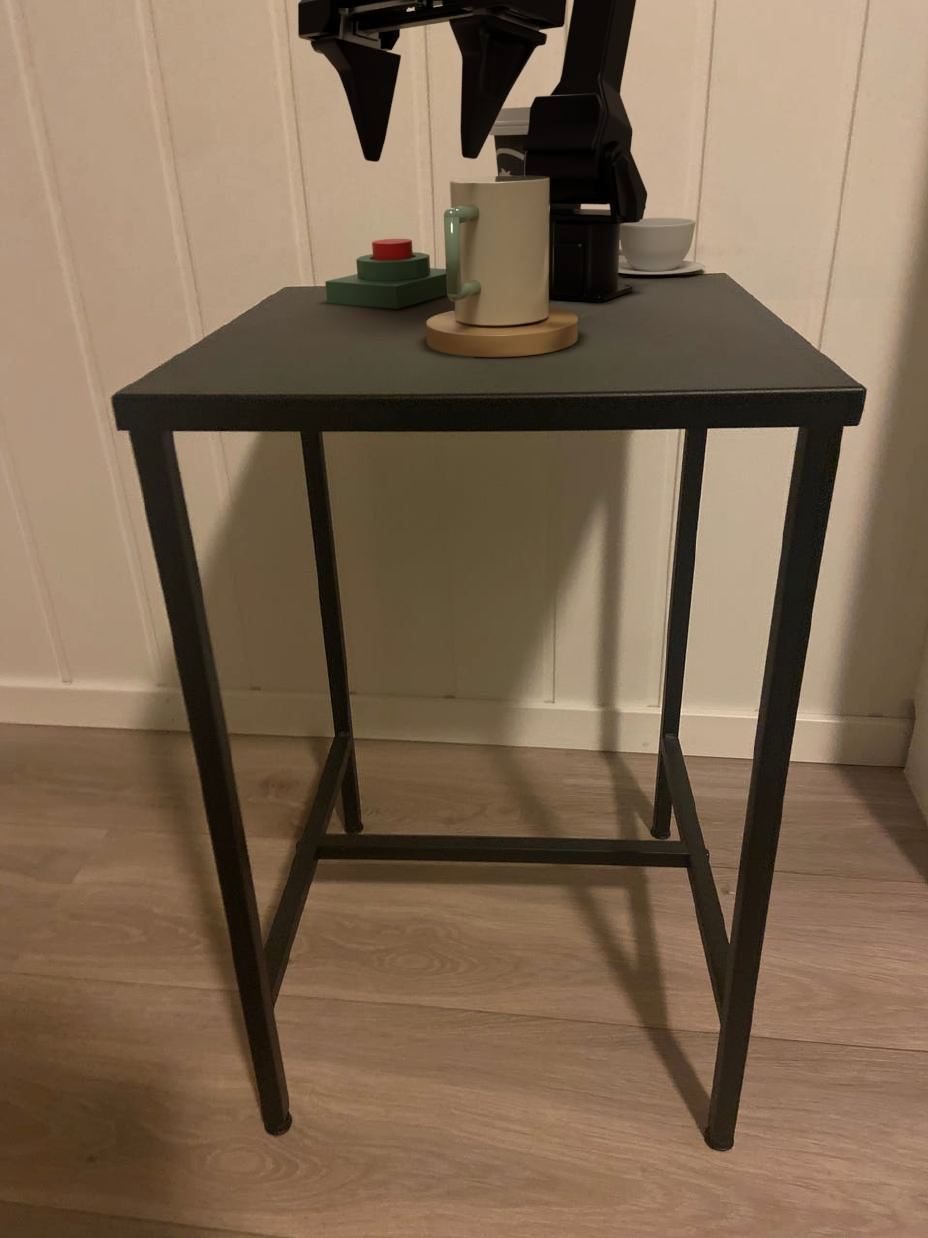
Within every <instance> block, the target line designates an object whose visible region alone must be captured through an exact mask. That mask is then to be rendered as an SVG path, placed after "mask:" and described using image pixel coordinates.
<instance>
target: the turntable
mask: <svg viewBox="0 0 928 1238" xmlns="http://www.w3.org/2000/svg"><path fill="white" fill-rule="evenodd" d="M425 332H426V333H425V334H426V335H425V336H426V345H427V346H428V347H429V348H430V349H432V350H434V351H436V352H439V353H442V354H449V355H452V356H453V355H454V356H461V357H472V358H494V359H495V358H518V357H529V356H536V355H537V356H538V355H543V354H549V353H554V352H557V351H562V350H564V349H568V348H570V347H572V346H574V345H575V344H576V343H577V341H578V340H579V317H578V315H576V314H575V313H573V312H571V311H568V310H564V309H560V308H555V307H549V316H548V317H547V318H545V319H543V320H540V321H536V322H532V323H526V324H518V325H502V326H488V325H474V324H467V323H463V322H460V321H457V320H456V319H455V311H454V310H450V311H445V312H442V313H439V314H436V315H433V316H431V317H429V318H428V319H427V320H426V321H425Z"/></svg>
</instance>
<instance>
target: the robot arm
mask: <svg viewBox="0 0 928 1238" xmlns="http://www.w3.org/2000/svg"><path fill="white" fill-rule="evenodd" d="M636 5H637V0H573V2H572V7H571V14H570V19H569V26H568V31H567V38H566V44H565V50H564V57H563V62H562V68H561V75H560V79H559V82H558V83H557V85H555V87H554V88H553V90H552V91H551V93H550V94H549V95H537V96H535V97H534V98H533V101H532V103H531V105H530V106H529V107H530V116H529V127H528V133H527V137H526V140H525V143H524V145H523V151H526V153H525V156H524V161H523V174H524V176H546V177H549V178H550V221H554V230H553V285H552V286H551V287H549V299H557V300H569V301H581V302H582V301H583V302H598V303H599V302H600V303H601V302H602V303H603V302H606V301H609V300H611V299H614V298H617V297H620V296H622V295H625V294H628V293H630V292H633V290H634V289H633V286H634V285H632V284H622V283H621V284H619V273H618V270H619V262H620V255H619V249H620V247H621V243H620V224H623V223H636V222H640V220H641V219H643V218H644V215H645V210H646V208H647V207H646V206H647V205H646V204H647V199H648V191H647V188H646V186H645V184H644V181H643V179H642V176H641V173H640V172H639V169H638V166H637V163H636V161H635V159H634V155H633V154H632V151H631V150H632V141H633V126H632V125H631V120H630V119H629V116H628V113H627V109H626V107H625V105H624V104H625V103H624V102H623V99H622V96H621V90H622V89H621V88H622V82H623V76H624V71H625V66H626V60H627V54H628V50H629V49H628V48H629V44H630V43H629V42H630V38H631V31H632V27H633V26H632V25H633V21H634V15H635V9H636ZM409 9H414V10H409ZM408 10H409V11H408ZM566 11H567V0H300V1H299V2H298V3H297V29H298V30H297V36H298V38H299V39H302V40H305V41H309V43H310V46H311V49H312V50H313V51H314V52H315V53H317V54H321V55H323V56H325V58H326V60H328V62H329V63H330V65H332V67H333V68H334V69H335V70H336V72H337V74H338V77H339V79H340V81H341V84H342V87H343V90H344V93H345V95H346V96H345V97H346V99H347V102H348V106H349V108H350V113H351V116H352V119H353V123H354V128H355V130H356V133H357V137H358V140H359V141H358V142H359V144H360V148H361V152H362V155H363V158H364V159H365V161H367V162H372V163H373V162H374V163H377V162H379V161H380V159H381V156H382V153H383V149H384V145H385V141H386V138H387V133H388V127H389V122H390V117H391V112H392V107H393V101H394V96H395V91H396V85H397V80H398V75H399V71H400V64H401V59H402V55H401V54H398V53H394V52H390V51H392V50H393V49H394V47H395V45H396V43H397V42H398V40H399V39H400V36H401V30H404V29H410V28H416V27H424V26H429V25H436V24H442V23H448V24H449V26H450V29H451V31H452V33H453V37H454V40H455V41H456V44H457V46H458V49H459V52H460V56H461V87H460V89H461V90H460V91H461V92H460V94H461V95H460V124H459V125H460V129H459V130H460V132H459V133H460V148H461V149H460V151H461V156H462V158H464V159H468V160H469V159H470V160H476V159H477V158H478V157H479V155H480V153H481V151H482V149H483V147H484V145H485V143H486V142H487V139H488V137H489V136H490V135H489V133H490V131H491V129H492V127H493V125H494V123H495V121H496V119H497V117H498V115H499V113H500V110H501V108H503V107H504V104H505V103H506V100H507V98H508V96H509V95H510V93H511V91H512V89H513V87H514V86H515V84H516V83H517V80H518V79H519V77H520V75H521V74H522V72H523V70H524V68H525V67H526V65H527V63H528V62H529V60H530V58H531V56H532V55H533V53H534V52H535V50H536V48H538V47H540V46H545V45H546V43H547V41H548V34H547V33H545V32H541V31H543V30H550V29H557V28H558V29H559V28H563V27H564V26H565V22H566ZM567 204H581V205H600V206H601V205H606V206H607V205H608V206H609V209H605V208H603V209H599V208H581V209H566V206H567Z"/></svg>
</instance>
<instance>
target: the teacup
mask: <svg viewBox="0 0 928 1238" xmlns="http://www.w3.org/2000/svg"><path fill="white" fill-rule="evenodd" d="M696 222H697V221H696V220H694V219H692V218H684V217H643V219H641V220H640V222H636V223H623V224H620V248H621V249H620V248H619V256H621V257H624V258H625V261H619V270H618V274H619V273H620V274H625V275H626V274H627V275H640V276H641V275H642V276H643V275H645V276H646V275H647V276H652V275H654V276H656V275H658V276H661V275H676V274H677V275H678V274H686V273H691V272H692V273H693V272H696V271H697V272H698V271H700V270H702V269H705V268H706V265H705V264H704V263H701V262H697V261H691V260H685V259H686V257H687V255H688V253H689V252H690V250H691V247H692V243H693V238H694V232H695V229H696Z"/></svg>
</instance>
